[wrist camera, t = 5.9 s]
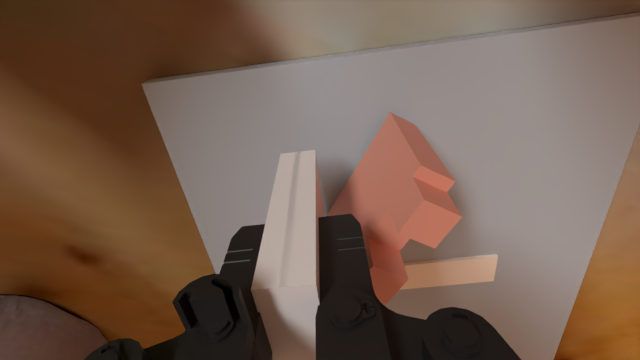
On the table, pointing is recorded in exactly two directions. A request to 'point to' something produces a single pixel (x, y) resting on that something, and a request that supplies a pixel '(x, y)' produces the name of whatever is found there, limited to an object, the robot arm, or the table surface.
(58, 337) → the pillar candle
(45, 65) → the table surface
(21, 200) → the table surface
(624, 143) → the board
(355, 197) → the pink crenellated wall
